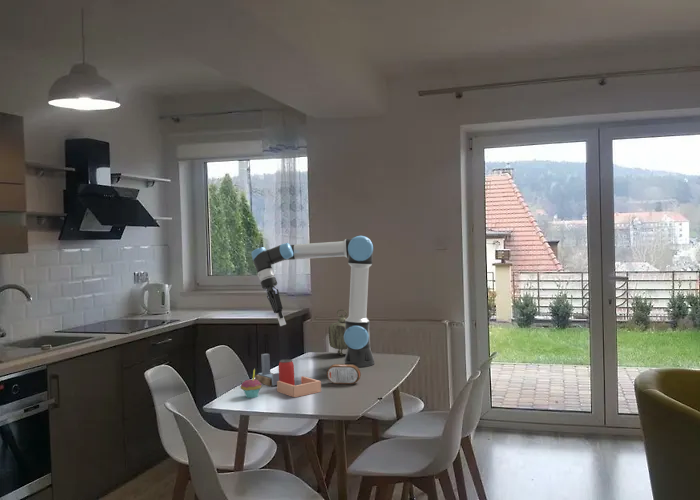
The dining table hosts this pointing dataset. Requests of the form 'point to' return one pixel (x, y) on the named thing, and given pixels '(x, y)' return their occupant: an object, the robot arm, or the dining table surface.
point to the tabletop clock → (338, 333)
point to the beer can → (286, 371)
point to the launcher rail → (264, 380)
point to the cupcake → (251, 387)
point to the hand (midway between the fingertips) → (283, 325)
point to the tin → (343, 374)
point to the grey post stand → (268, 369)
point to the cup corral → (300, 387)
